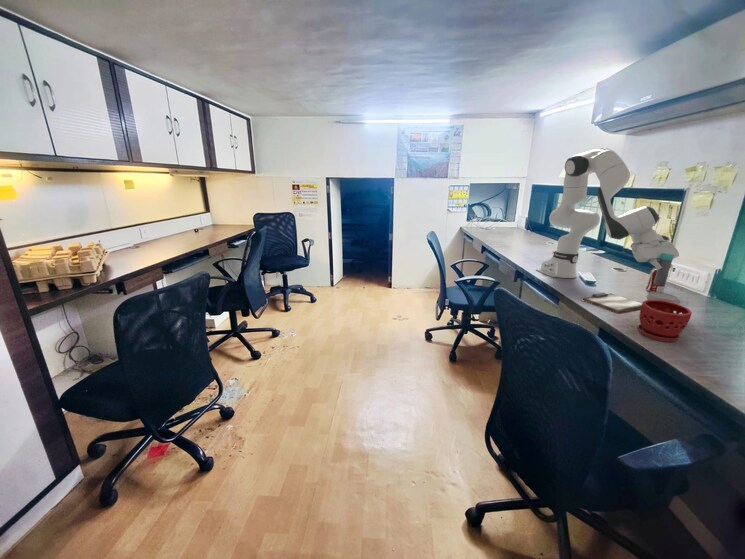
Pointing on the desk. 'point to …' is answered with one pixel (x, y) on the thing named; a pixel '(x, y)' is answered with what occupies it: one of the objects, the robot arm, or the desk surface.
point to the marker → (663, 273)
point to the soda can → (651, 285)
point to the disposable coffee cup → (662, 298)
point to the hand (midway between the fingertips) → (665, 268)
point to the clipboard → (613, 302)
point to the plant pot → (663, 320)
